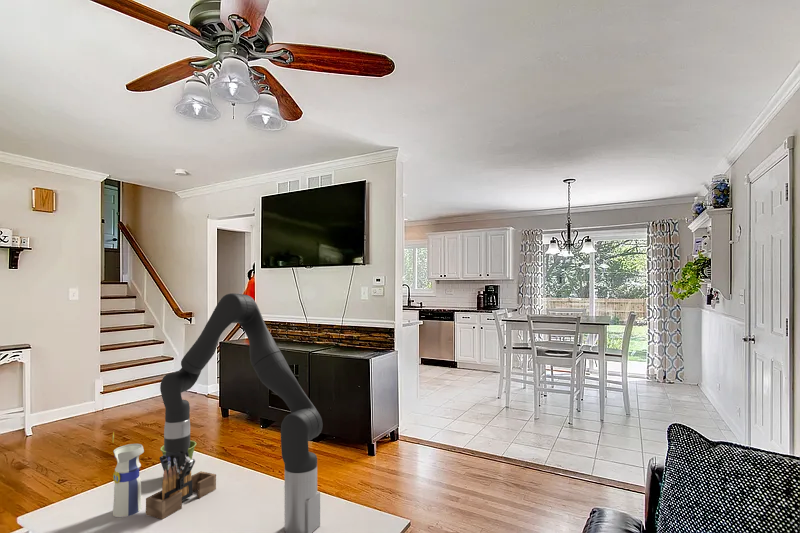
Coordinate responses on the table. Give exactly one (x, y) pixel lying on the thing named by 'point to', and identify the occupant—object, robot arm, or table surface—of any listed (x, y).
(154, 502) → the end cap
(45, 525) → the table surface
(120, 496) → the water bottle
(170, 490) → the ammunition clip
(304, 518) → the robot arm
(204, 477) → the end cap
